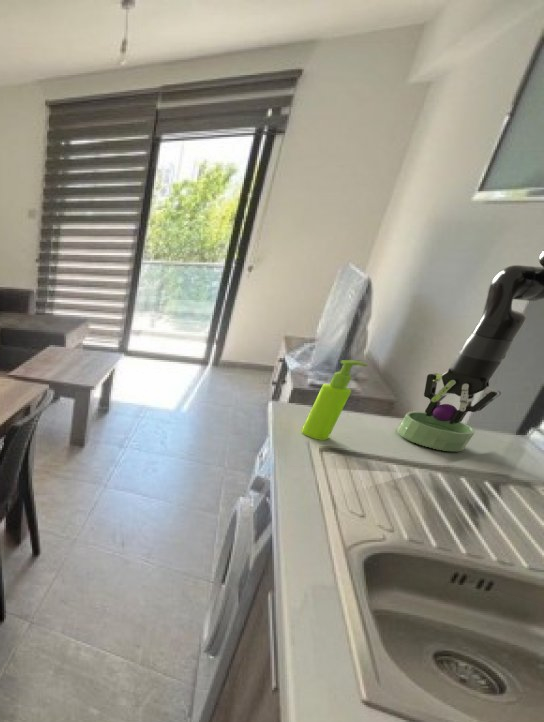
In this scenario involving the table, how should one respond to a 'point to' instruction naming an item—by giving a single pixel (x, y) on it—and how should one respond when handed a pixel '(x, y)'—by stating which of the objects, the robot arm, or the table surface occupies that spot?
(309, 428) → the soap dispenser
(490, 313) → the robot arm
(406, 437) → the bowl
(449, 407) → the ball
